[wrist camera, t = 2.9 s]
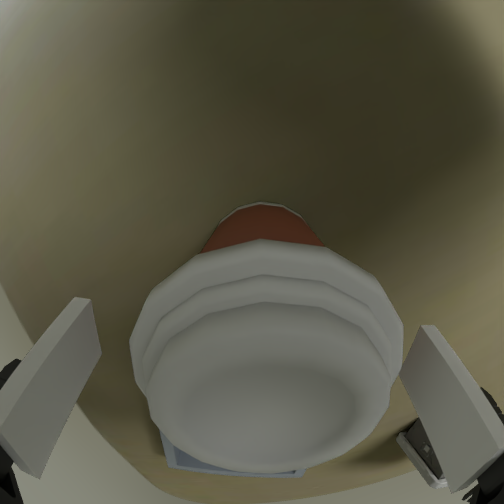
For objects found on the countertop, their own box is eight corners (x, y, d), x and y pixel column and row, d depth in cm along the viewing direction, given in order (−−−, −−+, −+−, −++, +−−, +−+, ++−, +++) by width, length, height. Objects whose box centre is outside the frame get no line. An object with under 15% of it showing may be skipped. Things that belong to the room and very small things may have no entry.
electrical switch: (392, 435, 27) (419, 499, 18) (420, 404, 26) (456, 468, 17) (441, 436, 28) (469, 487, 20) (466, 408, 27) (500, 458, 18)
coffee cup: (361, 209, 17) (483, 332, 6) (303, 330, 21) (331, 490, 10) (211, 156, 16) (123, 223, 5) (174, 293, 20) (110, 451, 9)
